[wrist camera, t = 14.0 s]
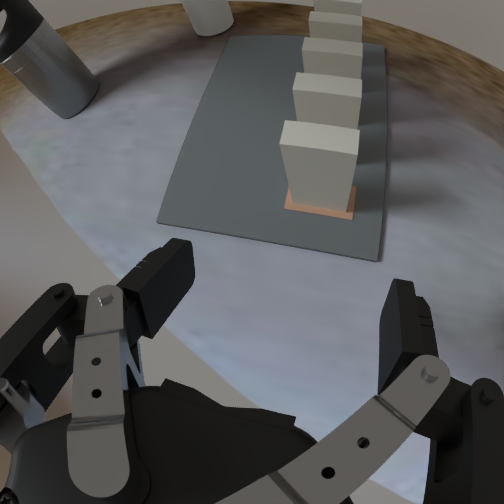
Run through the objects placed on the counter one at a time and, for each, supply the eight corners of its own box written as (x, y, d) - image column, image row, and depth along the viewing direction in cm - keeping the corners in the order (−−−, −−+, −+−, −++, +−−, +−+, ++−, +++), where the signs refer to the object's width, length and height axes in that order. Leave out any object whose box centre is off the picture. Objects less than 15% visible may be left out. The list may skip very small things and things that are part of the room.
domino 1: (318, 62, 32) (313, -1, 23) (320, 53, 32) (315, -9, 23) (358, 67, 31) (361, 3, 21) (358, 57, 31) (361, -4, 22)
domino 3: (309, 119, 30) (301, 50, 21) (311, 106, 31) (304, 37, 21) (355, 126, 29) (362, 56, 19) (356, 112, 29) (362, 43, 20)
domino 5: (292, 203, 28) (279, 144, 19) (296, 184, 29) (285, 120, 19) (345, 212, 27) (357, 155, 17) (348, 192, 27) (359, 130, 18)
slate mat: (158, 223, 31) (155, 221, 31) (231, 38, 37) (230, 35, 36) (376, 262, 26) (377, 260, 25) (383, 48, 32) (384, 45, 31)
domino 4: (301, 157, 29) (292, 89, 20) (304, 141, 30) (296, 72, 20) (351, 165, 28) (361, 97, 18) (353, 148, 28) (362, 79, 19)
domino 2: (314, 88, 31) (308, 20, 22) (316, 77, 31) (310, 11, 22) (357, 93, 30) (362, 26, 20) (357, 82, 30) (362, 16, 21)
